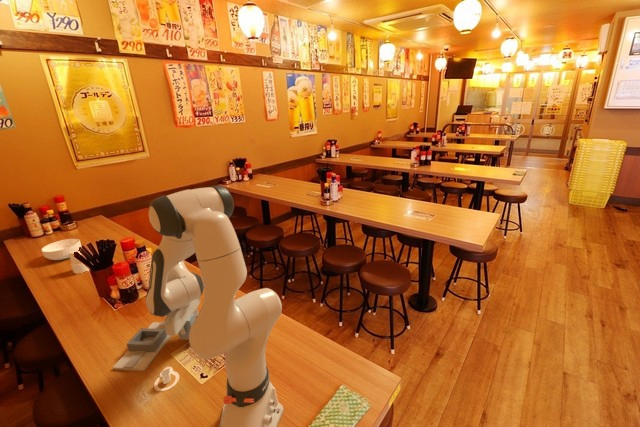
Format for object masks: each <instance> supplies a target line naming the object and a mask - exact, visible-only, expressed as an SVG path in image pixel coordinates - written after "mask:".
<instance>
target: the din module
mask: <svg viewBox="0 0 640 427" xmlns="http://www.w3.org/2000/svg"><path fill="white" fill-rule="evenodd" d="M196 319H197V317H195V314H191V315H190V317H189V318H188V319H187V322H186V323H185V325H184V327H183V328H186V329H187V332H186V333H185V334H181V332H180V331H179V333H178V334H177V335H178V338H179V340H189V332H190V329H191V326H192V324H193V323H194V322H195V320H196Z"/></svg>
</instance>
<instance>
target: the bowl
mask: <svg viewBox="0 0 640 427" xmlns="http://www.w3.org/2000/svg"><path fill="white" fill-rule="evenodd" d="M79 247H81V248H82V243H81V240H80V239H78V238H67V239H61V240H58V241H55V242H51V243H49V244H47V245H45V246H43V247H42V248H41V250H40V251H41V252H42V255H43V256H44V258H46V259H48V260H51V261H62V260H66V259H70V257H69V254H68V253H69V252H71V251H78V250H79Z"/></svg>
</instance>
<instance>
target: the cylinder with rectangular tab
mask: <svg viewBox="0 0 640 427" xmlns="http://www.w3.org/2000/svg"><path fill="white" fill-rule="evenodd" d="M80 251H81V250H80ZM80 251H71V252H69V253H68V254H69V259H70V266H71V267H70V268H71V270H72V272H73V274H74V273H76V274H75V275H79V274H78V273H82V274H84V273H83V272H85V271H88V272H90V271H89V269H88V268H87V267H86V266H85V265H84V264H83V263H81V262H80V261H79V260H77V259H76V258H75V257H74V255H73V254H74V252H78V253H79V254H80V255H82V254H81V253H80Z"/></svg>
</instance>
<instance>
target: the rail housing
mask: <svg viewBox="0 0 640 427" xmlns="http://www.w3.org/2000/svg"><path fill="white" fill-rule="evenodd" d="M171 337H172V336H171V335H167V334H166V330H165V321H161V322H157V321H155V322H152V323H150V324H149V326H148V327H147V328H145V327H144V328H143V327H141V328H140V329H139V330H138V331H137V332H136V333H135V334H134V335H133V336H132V337H131V339H130V340H128V342H127V343H126V346H127V351H126V352H125V353H124V354H123V355H122V356H121V357H120V359H119V360H118V361H117V362H116V363H115V364H114V365H113V366H112V370H114V371H115V370H116V371H134V372H145V371H146V369H148V367H149V366H150V364H151V363H152V362H153V360H154V359H155V358H156V357H157V355H158V354H159V353H160V351H161V350H162V348H163V347H164V346H165V344H166V343H167V342H168V340H169V339H170V338H171Z"/></svg>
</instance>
